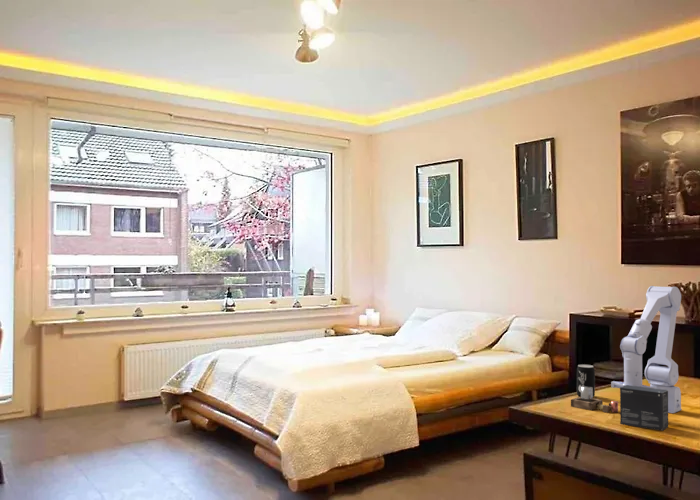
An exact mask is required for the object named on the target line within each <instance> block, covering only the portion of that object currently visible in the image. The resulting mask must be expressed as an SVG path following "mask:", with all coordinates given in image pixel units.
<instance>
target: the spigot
mask: <svg viewBox="0 0 700 500" xmlns="http://www.w3.org/2000/svg"><path fill="white" fill-rule="evenodd" d="M593 398H594V397H593V388H592V387H588V386H582V387H581V401H586V402H593Z"/></svg>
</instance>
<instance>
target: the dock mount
mask: <svg viewBox="0 0 700 500" xmlns="http://www.w3.org/2000/svg"><path fill="white" fill-rule="evenodd" d="M596 404H601V405H603V410H602V413H606V412H607V414H608V413H611V412H610V406H611V402H610V403H608V404H603V399H598V398H594V397H593V402H586V401H581V397H579V396H578V397H575V398H572V399H571V398H570V407H572V408H578V409H583V410H587V409H588V411H595V410H597V409H596ZM594 409H595V410H594Z"/></svg>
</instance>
